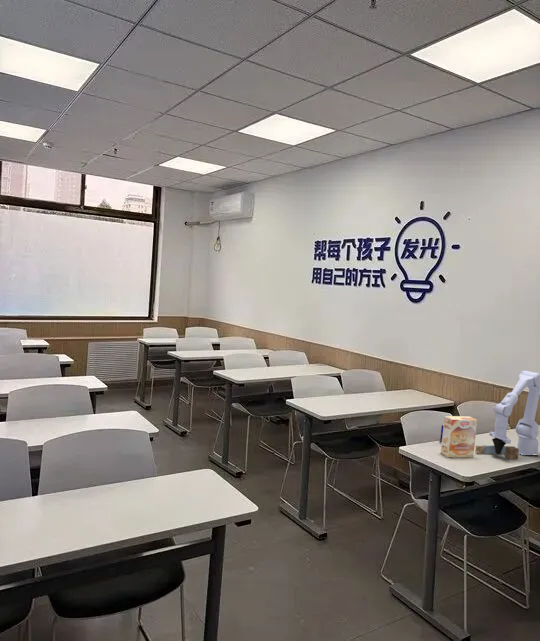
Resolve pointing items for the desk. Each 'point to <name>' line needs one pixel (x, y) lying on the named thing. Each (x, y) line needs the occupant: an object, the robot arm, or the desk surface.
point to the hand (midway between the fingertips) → (498, 453)
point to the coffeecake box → (458, 436)
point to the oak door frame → (479, 449)
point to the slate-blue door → (491, 449)
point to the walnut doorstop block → (511, 452)
